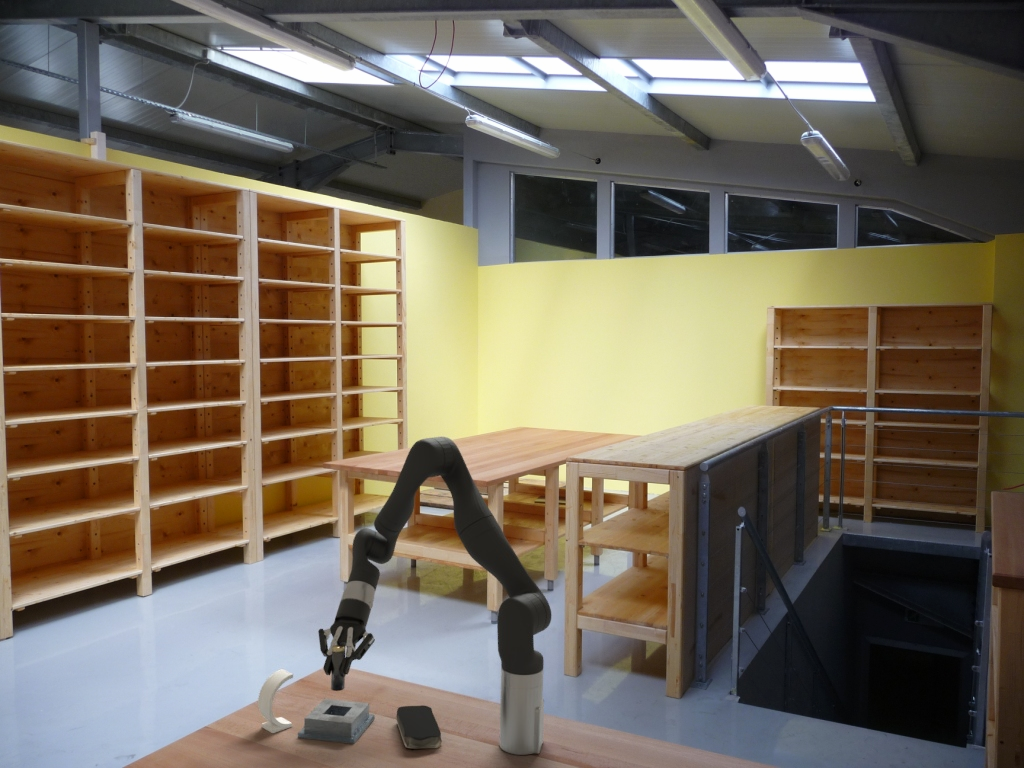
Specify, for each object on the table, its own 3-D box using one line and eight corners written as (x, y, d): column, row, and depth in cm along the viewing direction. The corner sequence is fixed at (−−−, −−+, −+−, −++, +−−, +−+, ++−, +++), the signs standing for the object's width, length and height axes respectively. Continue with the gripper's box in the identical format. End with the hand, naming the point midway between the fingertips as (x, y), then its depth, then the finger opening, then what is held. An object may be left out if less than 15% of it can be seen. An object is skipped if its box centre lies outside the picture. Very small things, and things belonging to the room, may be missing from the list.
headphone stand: (292, 726, 187) (293, 674, 186) (268, 735, 182) (269, 681, 182) (281, 720, 190) (282, 668, 189) (257, 728, 185) (258, 675, 185)
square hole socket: (374, 719, 192) (374, 701, 192) (353, 743, 179) (354, 725, 179) (321, 713, 194) (322, 696, 194) (297, 737, 181) (298, 719, 181)
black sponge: (394, 722, 191) (395, 706, 191) (430, 718, 193) (431, 703, 193) (404, 754, 175) (404, 737, 175) (443, 750, 178) (444, 733, 177)
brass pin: (346, 686, 188) (347, 645, 187) (341, 691, 185) (342, 649, 184) (334, 685, 188) (335, 643, 188) (328, 690, 185) (329, 648, 185)
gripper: (323, 594, 194) (300, 664, 183) (380, 599, 192) (360, 670, 180) (332, 610, 200) (309, 678, 188) (387, 615, 197) (368, 684, 186)
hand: (334, 674), depth 184 cm, fingers closed on brass pin, 3 cm apart
